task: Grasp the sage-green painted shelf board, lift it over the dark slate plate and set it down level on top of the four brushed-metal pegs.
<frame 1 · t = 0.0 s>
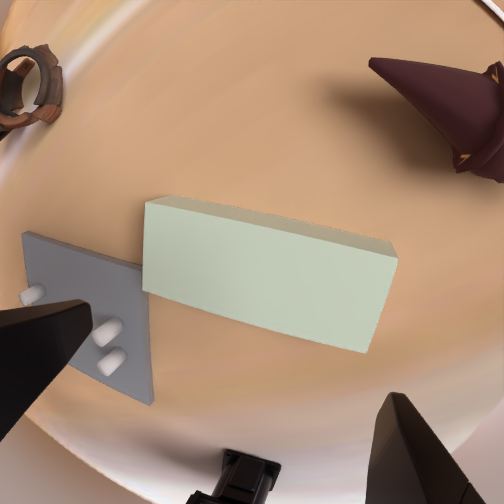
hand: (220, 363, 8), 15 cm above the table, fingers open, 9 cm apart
peg plate: (82, 316, 31), on the table
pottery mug: (42, 97, 25), on the table
icecream: (466, 126, 16), on the table
shelf board: (269, 258, 23), on the table
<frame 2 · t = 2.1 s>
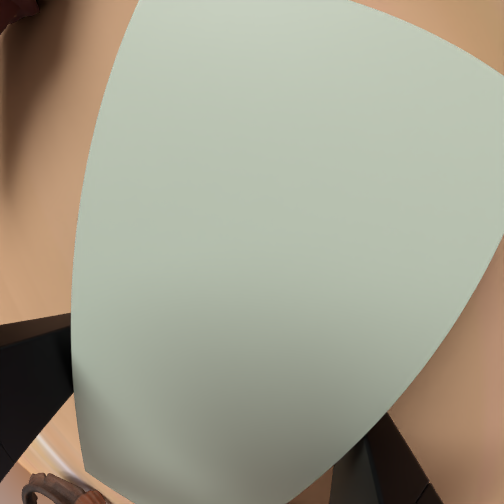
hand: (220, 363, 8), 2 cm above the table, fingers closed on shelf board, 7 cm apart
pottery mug: (94, 497, 21), on the table
icecream: (34, 1, 8), on the table
shelf board: (242, 330, 10), on the table, touching gripper
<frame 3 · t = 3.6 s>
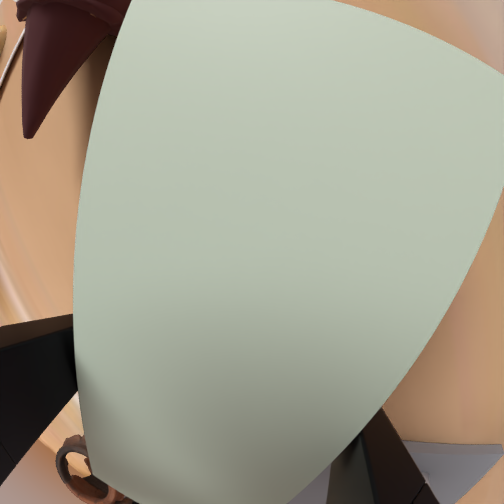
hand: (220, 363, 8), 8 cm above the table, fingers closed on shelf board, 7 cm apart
peg plate: (365, 501, 19), on the table
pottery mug: (122, 459, 27), on the table
dessert: (0, 47, 18), on the table
icecream: (113, 23, 14), on the table
shelf board: (243, 329, 10), point 6 cm above the table, touching gripper
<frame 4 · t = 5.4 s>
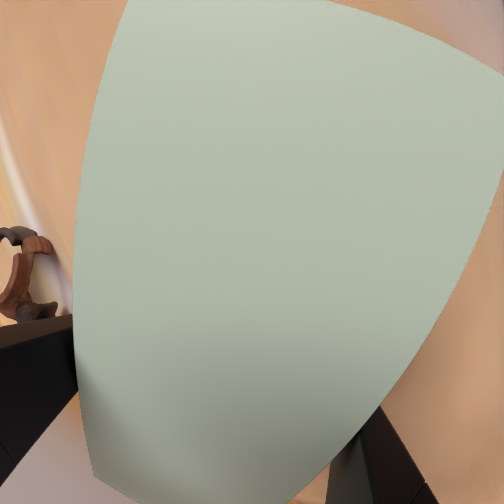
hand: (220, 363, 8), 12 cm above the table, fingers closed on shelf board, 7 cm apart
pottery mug: (45, 276, 28), on the table
shelf board: (242, 329, 10), point 10 cm above the table, touching gripper
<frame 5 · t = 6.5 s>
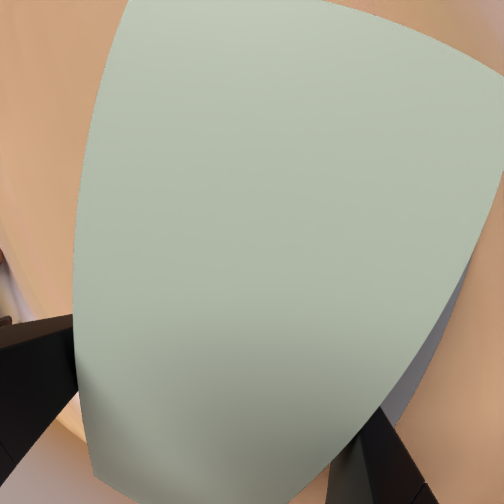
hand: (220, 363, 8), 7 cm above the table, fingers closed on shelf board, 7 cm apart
peg plate: (274, 276, 14), on the table
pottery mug: (1, 287, 23), on the table
shelf board: (242, 329, 10), point 5 cm above the table, touching gripper
when the fingers open (7 cm above the table, at t = 7.4 s): shelf board stays where it is, resting on peg plate.
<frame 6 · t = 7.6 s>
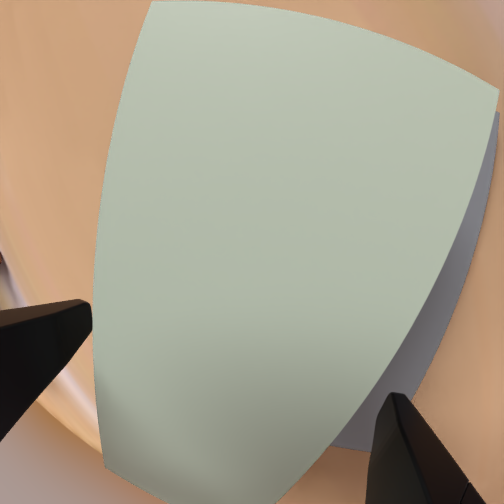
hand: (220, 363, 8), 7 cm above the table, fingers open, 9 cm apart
peg plate: (275, 275, 14), on the table
shelf board: (250, 318, 11), point 4 cm above the table, touching peg plate
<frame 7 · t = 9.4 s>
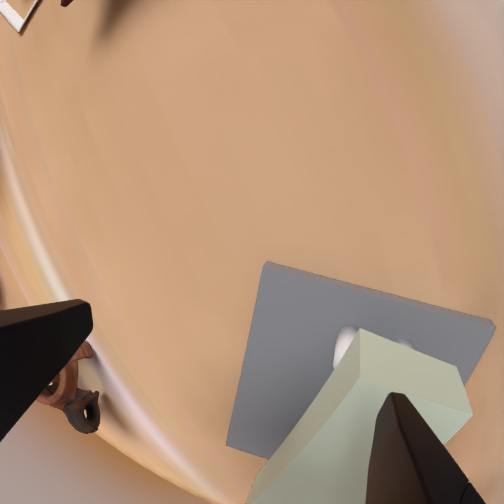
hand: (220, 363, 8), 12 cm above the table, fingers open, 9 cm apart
peg plate: (345, 399, 21), on the table
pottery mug: (83, 365, 30), on the table
shelf board: (342, 438, 18), point 4 cm above the table, touching peg plate
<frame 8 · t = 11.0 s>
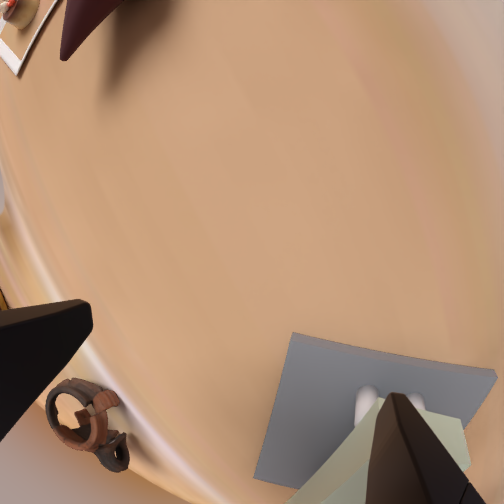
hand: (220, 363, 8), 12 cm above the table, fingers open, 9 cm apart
peg plate: (362, 438, 22), on the table
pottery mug: (109, 409, 31), on the table
dessert: (32, 12, 20), on the table
shelf board: (360, 475, 18), point 4 cm above the table, touching peg plate
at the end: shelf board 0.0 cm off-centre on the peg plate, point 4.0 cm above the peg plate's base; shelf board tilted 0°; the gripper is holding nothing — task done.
